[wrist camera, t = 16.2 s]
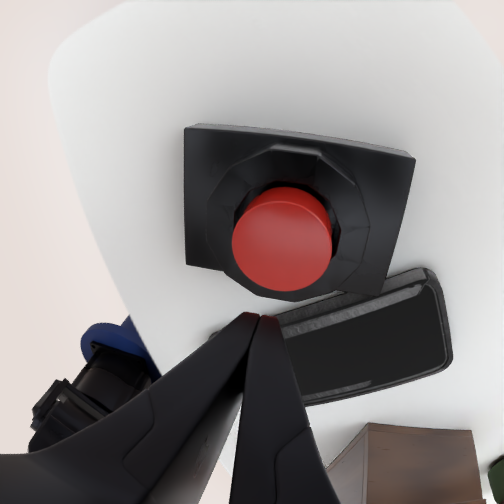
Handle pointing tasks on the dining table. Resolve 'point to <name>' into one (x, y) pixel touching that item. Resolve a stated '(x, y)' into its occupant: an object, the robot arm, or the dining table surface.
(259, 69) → the dining table surface
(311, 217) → the button
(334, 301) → the phone
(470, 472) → the chest
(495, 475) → the cream and green trophy
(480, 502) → the lid
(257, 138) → the button base
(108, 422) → the robot arm
